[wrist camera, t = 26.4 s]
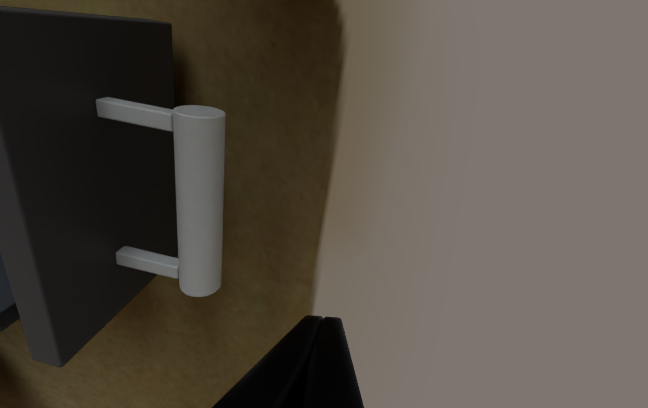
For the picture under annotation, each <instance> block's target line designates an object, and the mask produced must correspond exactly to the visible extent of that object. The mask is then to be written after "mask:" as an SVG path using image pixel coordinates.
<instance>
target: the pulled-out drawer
mask: <svg viewBox="0 0 648 408" xmlns="http://www.w3.org/2000/svg"><path fill="white" fill-rule="evenodd" d="M225 122H226V114H225V112H224V111H222V110H220V109H217V108H214V107H208V106H200V105H183V106H178V107H174V79H173V51H172V25H171V24H170V23H167V22H161V21H155V20H149V19H140V18H129V17H118V16H107V15H95V14H84V13H73V12H62V11H51V10H39V9H28V8H17V7H6V6H0V332H1V331H3V330H4V329H5V328H7V327H8V326H9V325H11V324H12V323H14V322H15V321H16V320H18V319H19V318H20V319H21V322H22V326H23V329H24V332H25V336H26V339H27V342H28V346H29V349H30V352H31V356H32V359H33V360H36V361H39V362H43V363H46V364H50V365H53V366H57V367H63V366H64V365H65V364H66V363H67V362H68V361H69V360H70V359H71V358H72V357H73V356H74V355H75V354H76V353H77V352H78V351H79V350H80V349H81V348H82V347H83V346H84V345H85V344H86V343H87V342H88V341H90V340H91V339H92V338H93V337H94V336H95V335H96V334H97V333H98V332H99V331H100V330H101V329H102V328H103V327H104V326H105V325H106V324H107V323H108V322H109V321H110V320H111V319H112V318H113V317H114V316H115V315H116V314H117V313H118V312H119V311H120V310H121V309H122V308H123V307H124V306H125V305H126V304H127V303H129V302H130V301H131V300H132V299H133V298H134V297H135V296H136V295H137V294H138V293H139V292H140V291H141V290H142V289H143V288H144V287H145V286H146V285H147V284H148V283H149V282H150V281H151V280H152V279H153V278H154V277H155V276H156V275H157V274H159V275H163V276H167V277H171V278H175V279H179V286H180V289H181V291H182V292H183V293H184V294H186V295H188V296H192V297H204V296H208V295H211V294H213V293H215V292H216V291H217V290H218V289H219V288H220V286H221V278H222V239H223V200H224V161H225ZM177 255H178V258H175V257H176V256H177Z"/></svg>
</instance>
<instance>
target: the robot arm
mask: <svg viewBox="0 0 648 408" xmlns="http://www.w3.org/2000/svg"><path fill="white" fill-rule="evenodd" d="M212 408H364V406H363V402H362V398H361V394H360V391H359V386H358V383H357V379H356V375H355V371H354V367H353V363H352V360H351V356H350V351H349V348H348V344H347V340H346V336H345V332H344V328H343V324H342V321H341V319H340V318H337V317H325V318H324V319H323V317H321V316H312V315H307V316H305V317H304V318H303V319H302V320H301V321H300V322H299V323H298V324H297V325H296V326H295V327H294V328H293V329H292V330H291V331H290V332H289V333H287V334H286V335H285V336H284V337H283V338H282V339H281V340H280V341H279V342H278V343H277V344H276V345H275V346H274V347H273V348H272V349H271V350H270V351H269V352H268V353H267V354H266V355H265V356H264V357H263V358H262V359H261V360H260V361H259V362H258V363H257V364H256V365H255V366H254V367H253V368H252V369H251V370H250V371H249V372H248V373H247V374H246V375H245V376H244V377H243V378H242V379H241V380H240V381H238V382H237V383H236V384H235V385H234V386H233V387H232V388H231V389H230V390H229V391H228V392H227V393H226V394H225V395H224V396H223V397H222V398H221V399H220V400H219V401H218V402H217V403H216V404H215V405H214V406H213V407H212Z"/></svg>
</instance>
